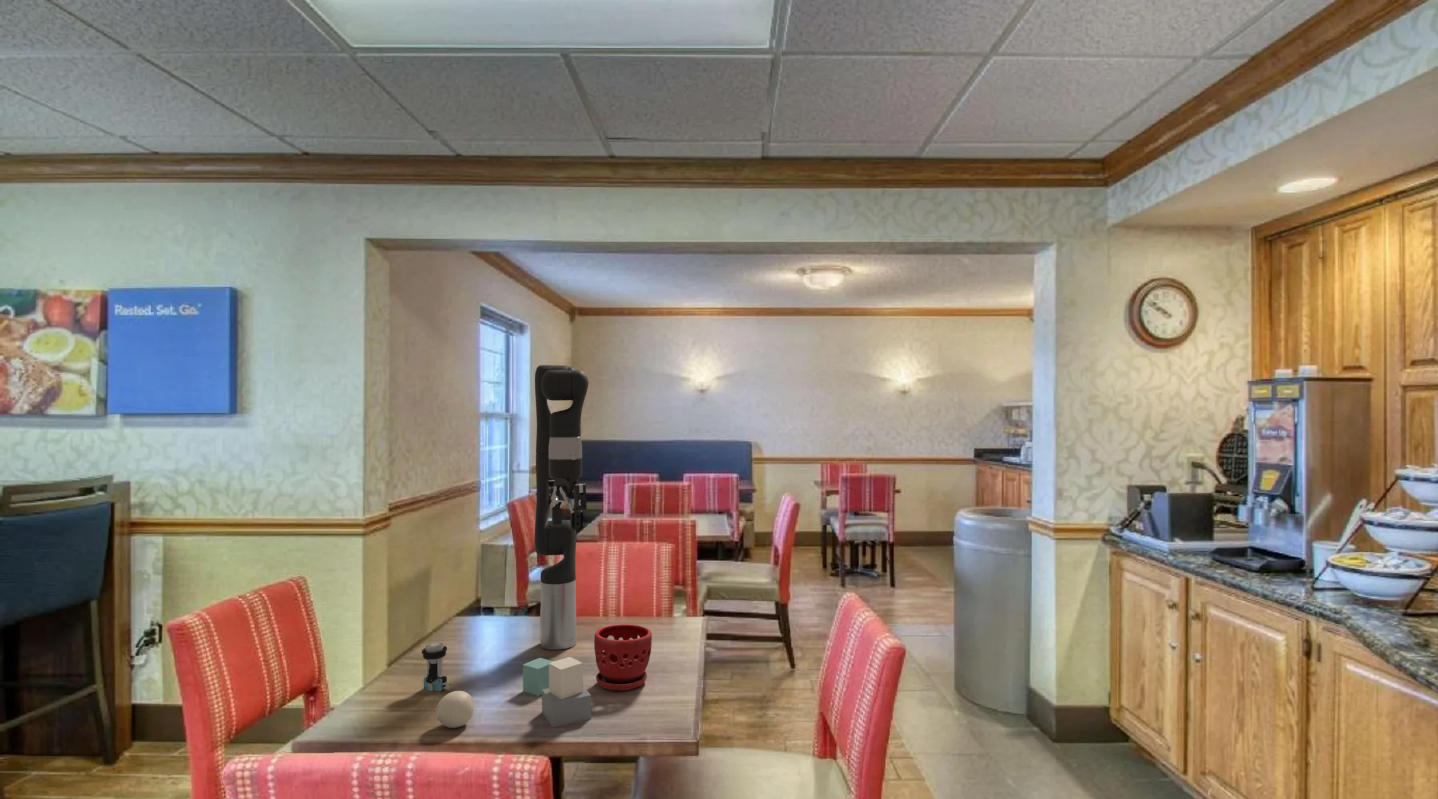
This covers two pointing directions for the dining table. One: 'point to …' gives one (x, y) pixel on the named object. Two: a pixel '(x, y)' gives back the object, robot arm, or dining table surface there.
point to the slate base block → (566, 708)
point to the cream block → (565, 677)
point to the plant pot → (622, 656)
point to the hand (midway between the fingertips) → (566, 527)
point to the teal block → (536, 676)
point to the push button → (435, 667)
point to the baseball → (455, 709)
